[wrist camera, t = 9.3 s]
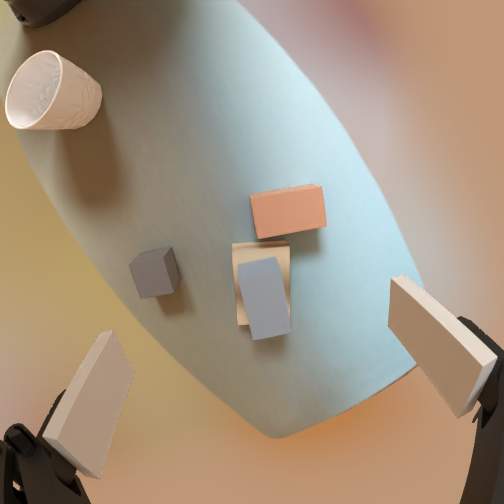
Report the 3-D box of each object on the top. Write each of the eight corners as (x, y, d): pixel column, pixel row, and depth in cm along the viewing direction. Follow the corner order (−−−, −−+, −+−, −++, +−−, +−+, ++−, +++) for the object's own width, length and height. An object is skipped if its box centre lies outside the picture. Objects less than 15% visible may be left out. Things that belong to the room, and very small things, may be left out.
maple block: (232, 242, 32) (231, 250, 29) (285, 239, 32) (289, 246, 29) (237, 312, 34) (237, 325, 32) (285, 308, 35) (289, 321, 32)
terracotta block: (255, 229, 31) (258, 239, 27) (248, 194, 30) (250, 198, 26) (316, 218, 31) (326, 226, 27) (311, 183, 30) (321, 186, 26)
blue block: (237, 264, 29) (237, 279, 26) (275, 256, 29) (281, 270, 25) (251, 320, 32) (253, 340, 28) (285, 313, 31) (291, 332, 28)
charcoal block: (140, 253, 31) (128, 265, 27) (171, 246, 31) (163, 257, 27) (150, 284, 32) (140, 298, 29) (180, 278, 32) (174, 293, 29)
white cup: (119, 95, 25) (76, 73, 16) (77, 146, 27) (25, 145, 17) (85, 62, 23) (41, 38, 14) (46, 111, 25) (-4, 103, 15)
